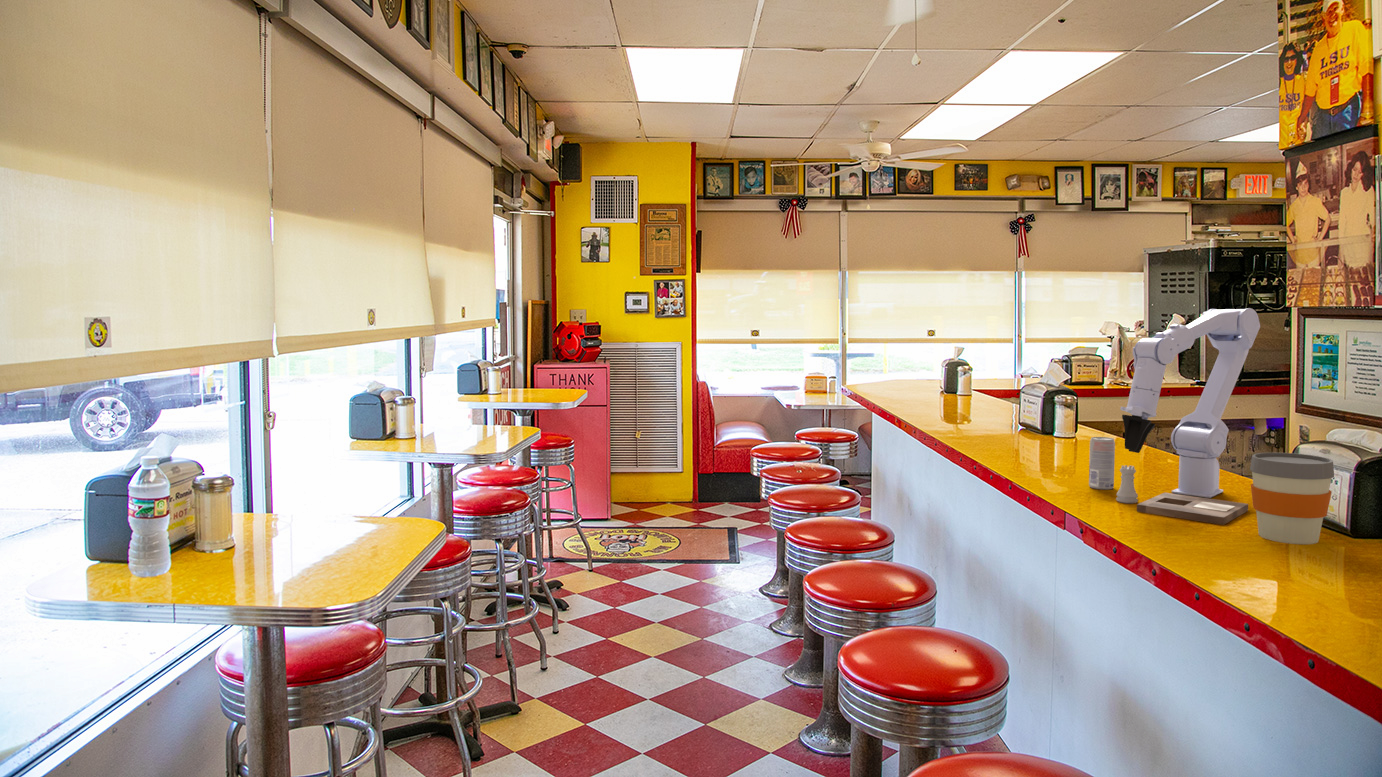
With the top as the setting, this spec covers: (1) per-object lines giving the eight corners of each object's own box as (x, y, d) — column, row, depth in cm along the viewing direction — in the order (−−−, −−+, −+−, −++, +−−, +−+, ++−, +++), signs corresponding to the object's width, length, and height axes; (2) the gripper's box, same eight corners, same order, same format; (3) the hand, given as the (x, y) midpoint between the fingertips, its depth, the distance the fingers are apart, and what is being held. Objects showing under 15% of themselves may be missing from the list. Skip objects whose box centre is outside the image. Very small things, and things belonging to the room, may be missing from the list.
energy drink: (1108, 485, 198) (1109, 436, 197) (1117, 489, 193) (1118, 440, 192) (1085, 485, 198) (1086, 436, 197) (1094, 489, 193) (1095, 440, 192)
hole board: (1164, 499, 182) (1164, 491, 182) (1247, 510, 170) (1248, 502, 170) (1136, 511, 172) (1137, 503, 172) (1223, 524, 160) (1223, 516, 160)
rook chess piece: (1136, 499, 182) (1137, 464, 181) (1140, 504, 178) (1141, 468, 177) (1114, 498, 184) (1115, 464, 183) (1117, 503, 179) (1118, 467, 179)
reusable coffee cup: (1255, 525, 159) (1258, 450, 158) (1336, 536, 150) (1340, 457, 149) (1240, 538, 150) (1243, 458, 149) (1325, 551, 141) (1329, 466, 140)
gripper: (1128, 392, 187) (1116, 449, 187) (1121, 383, 175) (1108, 444, 175) (1163, 397, 183) (1150, 456, 183) (1158, 389, 171) (1144, 451, 171)
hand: (1132, 450), depth 178 cm, fingers open, 7 cm apart
